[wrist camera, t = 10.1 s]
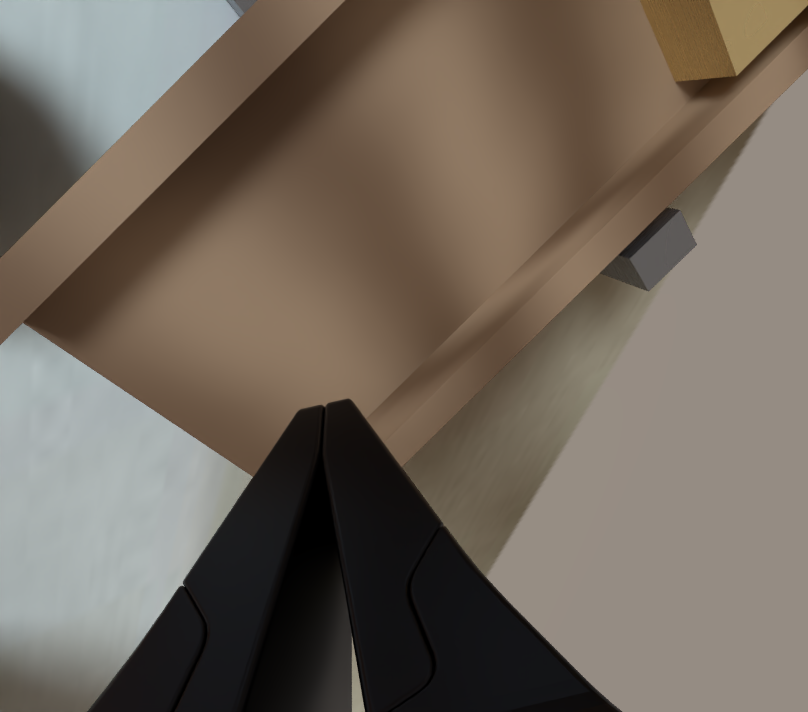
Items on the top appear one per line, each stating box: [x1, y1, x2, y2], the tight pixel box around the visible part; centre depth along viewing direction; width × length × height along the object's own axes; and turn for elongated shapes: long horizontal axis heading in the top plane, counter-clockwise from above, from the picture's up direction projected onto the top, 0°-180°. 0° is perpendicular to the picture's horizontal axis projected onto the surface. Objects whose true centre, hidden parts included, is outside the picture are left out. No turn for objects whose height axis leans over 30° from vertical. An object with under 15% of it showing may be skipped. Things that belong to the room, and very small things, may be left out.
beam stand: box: [227, 0, 697, 291], centre depth 16 cm, size 8×15×8 cm, turn 41°
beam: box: [0, 0, 808, 476], centre depth 14 cm, size 26×11×4 cm, turn 131°
